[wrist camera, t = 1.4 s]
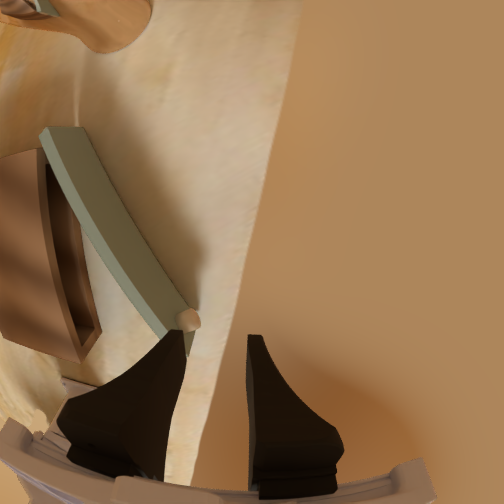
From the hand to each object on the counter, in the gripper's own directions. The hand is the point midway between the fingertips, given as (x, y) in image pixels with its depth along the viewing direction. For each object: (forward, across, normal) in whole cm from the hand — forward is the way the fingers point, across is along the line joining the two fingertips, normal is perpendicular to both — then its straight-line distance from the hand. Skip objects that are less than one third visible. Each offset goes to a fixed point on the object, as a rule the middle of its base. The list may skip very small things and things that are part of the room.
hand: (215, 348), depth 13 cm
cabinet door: (+9, +7, -3) cm, 12 cm away
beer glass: (+10, +10, -20) cm, 25 cm away
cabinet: (+9, +19, -1) cm, 21 cm away
